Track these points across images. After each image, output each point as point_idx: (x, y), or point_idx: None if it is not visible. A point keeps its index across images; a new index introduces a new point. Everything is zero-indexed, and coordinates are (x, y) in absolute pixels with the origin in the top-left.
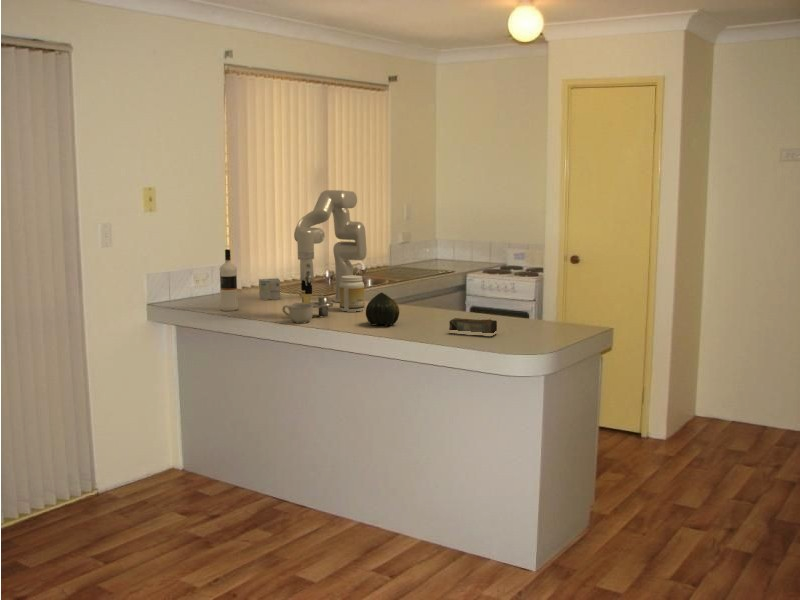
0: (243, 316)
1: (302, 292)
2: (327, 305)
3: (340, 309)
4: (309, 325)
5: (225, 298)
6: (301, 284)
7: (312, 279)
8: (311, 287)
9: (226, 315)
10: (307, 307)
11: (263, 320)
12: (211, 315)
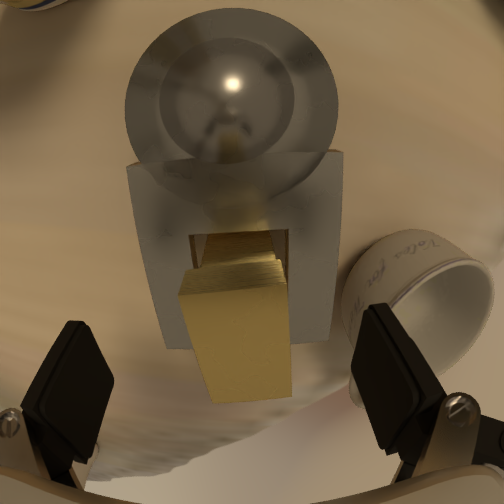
0: (183, 439)
1: (213, 384)
2: (332, 79)
3: (58, 4)
4: (472, 247)
5: (87, 475)
6: (92, 441)
7: (486, 480)
8: (423, 370)
9: (164, 458)
10: (396, 279)
11: (283, 407)
12: (164, 471)
